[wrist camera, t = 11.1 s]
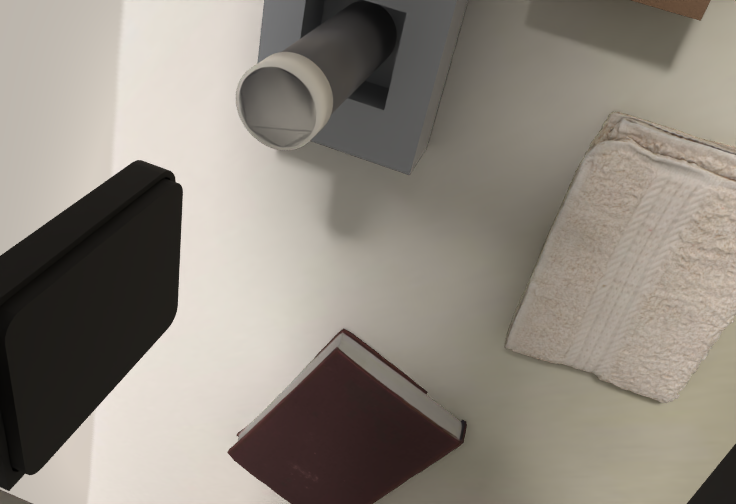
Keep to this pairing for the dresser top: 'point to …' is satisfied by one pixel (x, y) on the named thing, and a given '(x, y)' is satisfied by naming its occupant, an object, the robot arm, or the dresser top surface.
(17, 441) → the robot arm
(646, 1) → the holster
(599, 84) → the dresser top surface
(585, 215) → the washcloth
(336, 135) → the port
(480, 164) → the dresser top surface
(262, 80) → the grey and white cylinder
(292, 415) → the book
